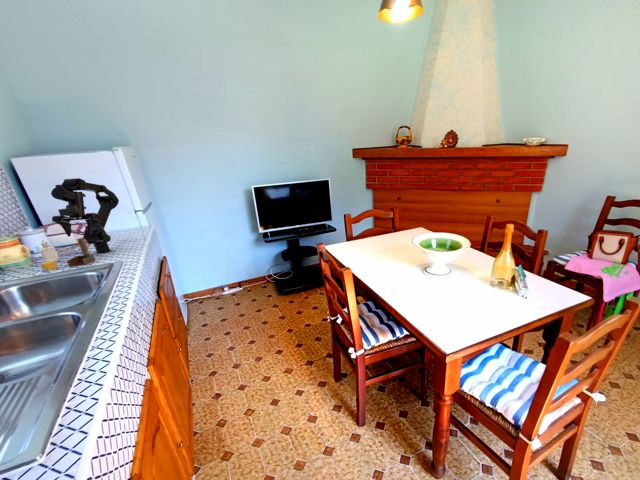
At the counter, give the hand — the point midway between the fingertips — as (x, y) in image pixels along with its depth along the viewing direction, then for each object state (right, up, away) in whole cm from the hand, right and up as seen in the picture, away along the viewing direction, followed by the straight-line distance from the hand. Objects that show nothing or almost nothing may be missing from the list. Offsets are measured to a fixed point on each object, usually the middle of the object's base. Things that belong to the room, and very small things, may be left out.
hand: (79, 235), depth 147 cm
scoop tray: (+1, -14, +1) cm, 14 cm away
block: (-9, -13, -6) cm, 17 cm away
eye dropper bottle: (-19, -13, +6) cm, 24 cm away
